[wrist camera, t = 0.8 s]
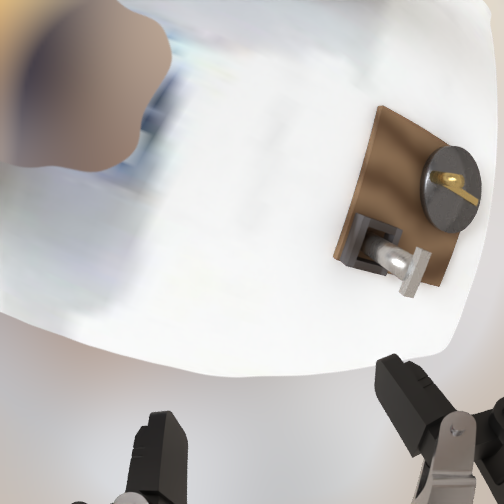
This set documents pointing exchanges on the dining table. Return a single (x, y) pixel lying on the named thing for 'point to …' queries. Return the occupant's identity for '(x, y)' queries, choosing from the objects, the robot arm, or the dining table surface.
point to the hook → (397, 261)
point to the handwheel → (450, 189)
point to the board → (394, 198)
